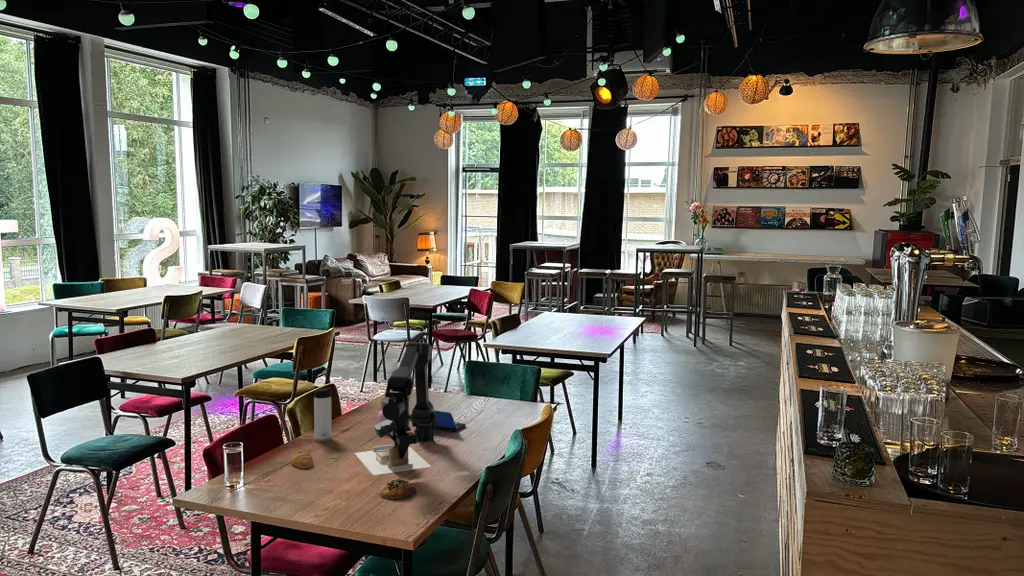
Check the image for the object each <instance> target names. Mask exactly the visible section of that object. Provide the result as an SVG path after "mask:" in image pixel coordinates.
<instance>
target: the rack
mask: <svg viewBox="0 0 1024 576" xmlns="http://www.w3.org/2000/svg"><path fill="white" fill-rule="evenodd" d="M392 446H393V444H384V445H377V446H372V450H368V451H361V452H359V451H358V452H354V454H355V456H356V457H357V458H358V459H359V460H360V462H361V463H362V464H363V466H365V468H366V469H367V470H368V471H369V473H371V475H372V476H377V475H384V474H386V475H387V474H392V473H398V472H404V471H405V472H407V471H412V470H418V469H427V468H431V467H432V465H430V464H429V463H428V462H427V461H426V460H425V459H424V458H423V457H422V456H420V454H418V453H417V451H415V450H414V449H413V448H412V447H410V446H409V447H408V464H406V465H400V466H393V467H391V469H390V468H389V462H388V463H383V464H380V463H379V462H378V461H377V460H376V456H377V452H385V451H389V447H392Z"/></svg>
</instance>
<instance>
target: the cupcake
mask: <svg viewBox="0 0 1024 576" xmlns="http://www.w3.org/2000/svg"><path fill="white" fill-rule="evenodd" d="M376 418H377V421H378V423H381V422H383V421H385V420H388V419H386V418H385V417H384V416H383V413H382V411H381V410H380V411H379V412H378V414H377V417H376ZM389 434H390V433H389ZM389 434H388V435H389Z"/></svg>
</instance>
